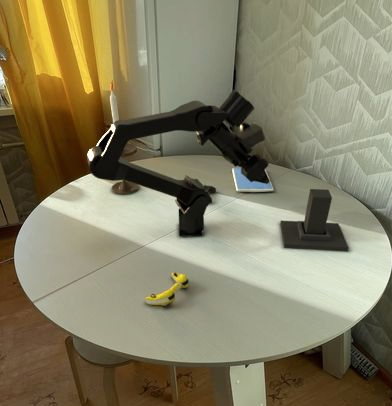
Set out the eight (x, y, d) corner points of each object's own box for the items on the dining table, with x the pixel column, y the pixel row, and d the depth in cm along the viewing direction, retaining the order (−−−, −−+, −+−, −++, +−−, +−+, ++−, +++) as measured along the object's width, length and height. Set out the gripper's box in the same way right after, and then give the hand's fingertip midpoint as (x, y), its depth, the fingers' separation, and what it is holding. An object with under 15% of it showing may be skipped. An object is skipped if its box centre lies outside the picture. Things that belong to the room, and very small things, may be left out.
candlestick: (125, 179, 128) (111, 75, 109) (147, 187, 123) (137, 78, 104) (102, 190, 121) (83, 81, 102) (125, 199, 116) (109, 85, 96)
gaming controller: (213, 202, 111) (200, 189, 109) (201, 212, 114) (188, 199, 112) (218, 189, 119) (205, 176, 117) (206, 198, 122) (194, 186, 120)
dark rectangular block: (305, 237, 94) (312, 196, 87) (302, 228, 97) (310, 188, 91) (323, 238, 93) (332, 197, 87) (320, 229, 97) (328, 189, 90)
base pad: (284, 247, 92) (285, 239, 90) (280, 223, 102) (281, 215, 100) (347, 251, 90) (350, 242, 89) (337, 226, 100) (339, 218, 99)
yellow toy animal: (171, 311, 72) (164, 297, 71) (149, 309, 76) (143, 296, 75) (196, 284, 79) (191, 270, 78) (175, 283, 83) (170, 270, 82)
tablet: (231, 170, 134) (231, 167, 133) (264, 170, 134) (265, 166, 133) (236, 193, 118) (236, 189, 117) (273, 192, 118) (274, 189, 117)
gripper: (265, 126, 79) (300, 165, 88) (231, 107, 94) (264, 142, 103) (231, 163, 82) (268, 198, 91) (204, 139, 96) (238, 171, 105)
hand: (260, 175), depth 97 cm, fingers open, 9 cm apart
